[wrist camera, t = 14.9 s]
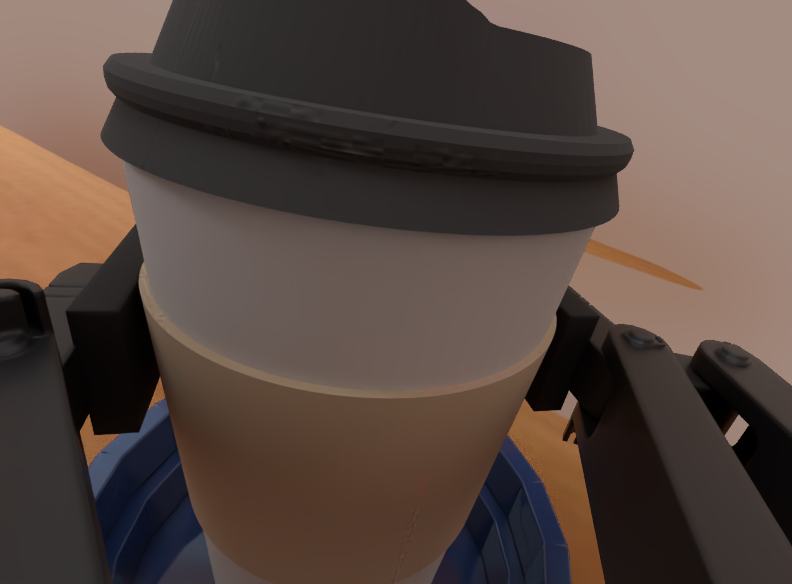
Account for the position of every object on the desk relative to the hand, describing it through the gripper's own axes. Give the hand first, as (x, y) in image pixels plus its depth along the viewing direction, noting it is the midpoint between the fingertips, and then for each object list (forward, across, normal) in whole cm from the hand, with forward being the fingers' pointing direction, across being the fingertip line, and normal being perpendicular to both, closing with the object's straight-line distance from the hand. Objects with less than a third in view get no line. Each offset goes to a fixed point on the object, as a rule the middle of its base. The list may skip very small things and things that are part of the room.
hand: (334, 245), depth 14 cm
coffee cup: (-5, 0, -9) cm, 10 cm away
